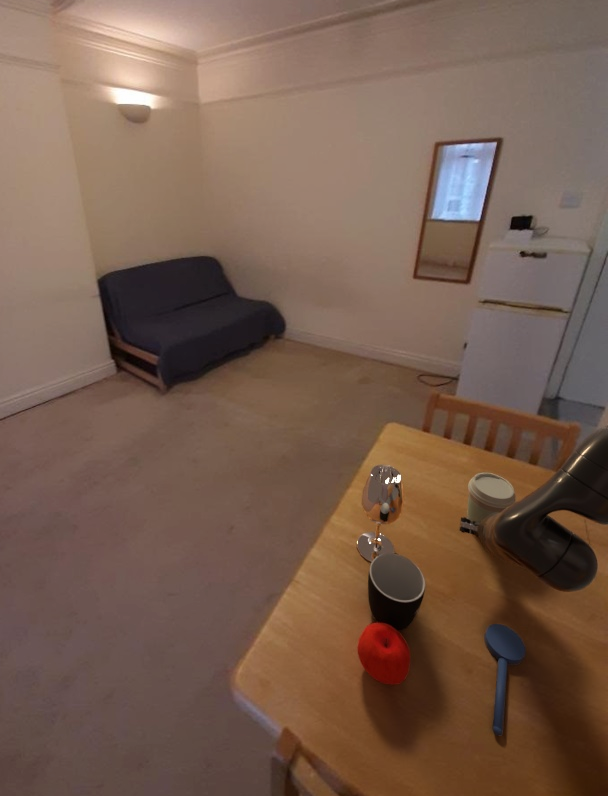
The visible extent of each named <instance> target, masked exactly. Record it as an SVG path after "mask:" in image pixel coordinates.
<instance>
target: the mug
mask: <svg viewBox="0 0 608 796" xmlns="http://www.w3.org/2000/svg"><path fill="white" fill-rule="evenodd" d="M367 576H368V579H367V597H368V604H369V610H370V612H371V615H372V617H373V619H374V620H375V621H376V623H386V624H388V625H391V626H392V627H393V628H395V629H396V630H397V631H399V632H402V631H404V630H406V629H407V628H408V627H410V626H411V625H412V623H413V622H414V620H415V618H416V617H417V615H418V613H419V610H420V607H421V605H422V603H423V599H424V596H425V592H426V579H425V576H424V574H423V572H422V570H421V569H420V568H419V566H418V565H417V564H416V563H415V562H413V561H412V560H411V559H409V558H408V557H406V556H404V555H401V554H399V553H397V552H395V553H385V554H381V555H379V556H377V557H376V558H375V559H374V560H373V561H372V562H370V565H369V568H368V575H367Z"/></svg>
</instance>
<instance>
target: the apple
mask: <svg viewBox="0 0 608 796" xmlns="http://www.w3.org/2000/svg"><path fill="white" fill-rule="evenodd" d="M356 648H357V655H358V659H359V661H360V663H361V666H362V667H363V669H364V670H365V671H366V672H367V673H368V674H369V676H371V677H372V679H374V680H376V682H380V683H382V684H387V685H399V684H401V683H403V682H404V681H405V680H406V678H407V676H408V674H409V671H410V666H411V650H410V647H409V644H408V642H407V641H406V640H405V638H404V636H403V635H402V633H401V631H397V630H396V629H395V628H393V627H392V626H391V625H388V624H386V623H378V622H374V623H373V622H372V623H370V624H368V625H367V626H366V627H365V628H364V629H363V631H362V633H361V635H360V636H359V638H358V644H357V647H356Z"/></svg>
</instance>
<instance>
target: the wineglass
mask: <svg viewBox="0 0 608 796" xmlns="http://www.w3.org/2000/svg"><path fill="white" fill-rule="evenodd" d="M402 478H403V477H402V474H401V472H400V471H399V470H398V469H397V468H395V467H393V466H391V465H388V464H377V465H374V466H373V467H372V468H371V469H370V472H369V474H368V476H367V478H366V480H365V484H364V486H363V488H362V492H361V497H360V498H361V499H360V500H361V502H360V503H361V504H360V505H361V508H362V511H363V513H364V514H365V516H367V518H368V519H369V520H370V521H371V522H373V523H375V524H376V528H375V531H367V532H364V533H361V534H360V536H359V537H358V538H357V540H356V548H357V550H358V553H359V554H360V556H361V557H363V558H364V559H365V560H367V561H368V562H370V563H372V561H373V560H374V559H375V558H376V557H377V556H379V555H381V554H385V553H396V552H395V547H394V544H393V542H392V541H391V540H390V539H389V538H388V537H387V536H386V535H384V534H382V533H380V532H381V526H382V525H383V526H385V525H391V524H393V523H395V522H396V521H398V520H399V519H400V517H401V515H402V514H403V510H404V502H405V498H404V497H405V495H404V486H403V479H402Z"/></svg>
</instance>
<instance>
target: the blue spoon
mask: <svg viewBox="0 0 608 796" xmlns="http://www.w3.org/2000/svg"><path fill="white" fill-rule="evenodd" d="M483 637H484V643H485V646H486V648H487V650H488V651H489V653H490V654H491V655H492V656H493V657H494V658H495V659H497V660H498V662H497V673H496V685H495V695H494V707H493V708H494V709H493V718H492V731H493V733H494V734H495V735H496V736H497V737H499V736H500V737H501V736H503V732H504V721H505V720H504V718H505V705H506V703H505V702H506V690H507V689H506V688H507V675H508V674H507V673H508V665H509V666H517V665H520V664H521V663H522V662H523V660H524V658H525V656H526V653H527V652H526V646H525V643H524V641H523V639H522V638H521V636H520V635H519V634H518V633H517V632H516V631H515V630H513V628H510V627H509V626H507V625H505V624H502V623H492V624H490V625H488V626H487V628H486V631H485V633H484V636H483Z"/></svg>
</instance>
